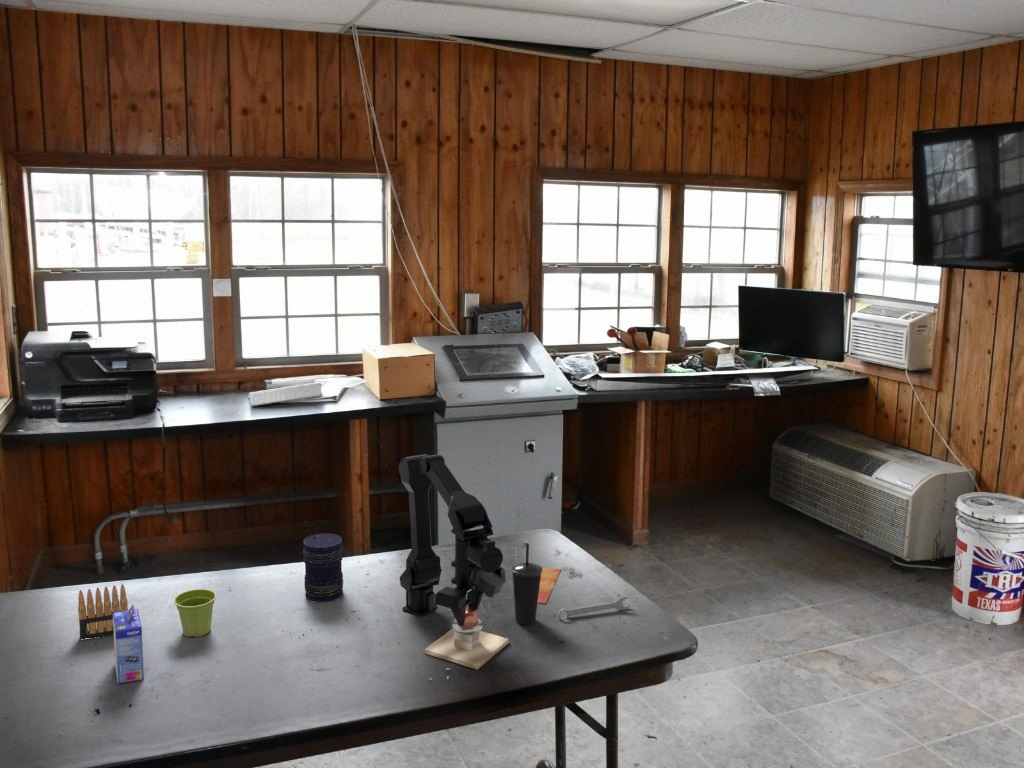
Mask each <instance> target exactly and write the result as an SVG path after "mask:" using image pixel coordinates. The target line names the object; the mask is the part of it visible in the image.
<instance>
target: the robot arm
mask: <svg viewBox="0 0 1024 768" xmlns="http://www.w3.org/2000/svg"><path fill="white" fill-rule="evenodd" d="M445 461H446V460H445V458H444V456H443V455H442V454H433V455H429V454H428V453H425V454H420V455H418V454H417V455H412V456H406V457H403V458H402V459H401V461H399V463H398V472H399V475H400V481H401V483H402V484H403V486H404V487H405V489H406V490H407V492H408V504H409V505H408V506H409V521H410V524H409V525H410V536H411V537H410V538H411V539H410V540H411V550H410V552H409V554H408V556H407V558H406V560H405V561H406V562H405V569H404V571H403V572H402V573H401V575H400V576H399V583H400V587H402V588H403V589H404V590H405V605H404V606H403V607H402V611H405V612H409V613H412V614H416V615H420V616H425V615H426V614H428V613H429V612H431V611H432V610H434V609H436V608H437V607H438V606H441V607H444V608H448V609H450V611H451V613H452V614H453V616H454V618H455V619H456V620H457V622H458V624H459V625H460V626H464V621H465V613H466V607H474V608H476V609H477V610H478V611H479V607H480V604H481V601H482V598H483V595H484V594H485V596H486V597H488V598H493V597H495V595H497V594H498V593H500V592H501V590H502V586H503V585H504V584H506V582H507V580H506V569H505V568H504V567H502V566H501V565H502V562H503V560H504V559H503V558H504V555H503V553H502V551H501V549H500V548H498V547H497V546H496V541H495V540H493V539H490V538H488V537H489V536H490V537H491V536H493V535H494V532H493V529H492V528H493V525H492V522H491V520H490V518H489V515H488V513H487V510H486V507H484V505H483V504H482V502H480V500H479V499H478V498H477V497H475V496H474V495H473V494H470V493H468V492H466V491H465V490H464V488H463V487H462V486H461V484H460V483H459V481H458V480H457V479H456V476H454V474H453V473H452V472H451V470H450V469H449V467H448V465H447V464H446V462H445ZM432 485H433V486H434V487H435V489H436V490H437V492H438V493H439V495H440V496H441V498H442V499H443V501H444V502H445V504H446V505H447V518H448V519H449V522H450V524H451V527H452V529H451V533H452V534H453V535H454V543H455V544H454V560H452V561H451V564H450V565H451V567H453V568H454V577H452V578H451V580H450V583H451V584H452V585H455V587H450V586H445V587H443V588H442V589H440V590H439V591H438V592H436V593H435V592H434V586H439V584H440V582H441V581H440V580H441V575H442V567H441V557H440V556H439V555H437V554H436V552H435V551H434V549H433V545H432V531H431V530H432V529H431V528H432V527H431V514H430V498H429V497H430V494H429V491H430V490H431V487H432ZM479 527H482V528H479ZM475 528H476V529H475ZM477 528H478V529H477Z"/></svg>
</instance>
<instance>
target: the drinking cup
mask: <svg viewBox="0 0 1024 768" xmlns="http://www.w3.org/2000/svg"><path fill="white" fill-rule="evenodd" d="M529 553H530V543H529V542H527V543H526V544H525V561H523V562H517V563H515V564H512V566H511V568H510V570H511V574H512V587H513V589H512V590H513V602H514V615H515V622H516V623H517V624H519V625H522V626H529V625H533V624H534V623H535V622H536V618H537V609H538V604H539V603H538V595H539V587H540V579H541V573H542V571H543V569H542V568H543V567H542V566H541V565H540V564H538V563H535V562H531V561H529V557H530V556H529V555H530V554H529Z"/></svg>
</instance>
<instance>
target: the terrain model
mask: <svg viewBox="0 0 1024 768" xmlns="http://www.w3.org/2000/svg"><path fill="white" fill-rule="evenodd" d="M542 569H543V571H542V573H541V579H540V587H539V595H538V603H537V604H547V602H548V599H549V597H550V595H551V592H552V591H553V588H554V587H555V584H556V581H557V579H558V577H559V575H560V573H561V570H562V569H561V568H560V569H559V568H547V567H542Z"/></svg>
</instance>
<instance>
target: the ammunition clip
mask: <svg viewBox="0 0 1024 768" xmlns="http://www.w3.org/2000/svg"><path fill="white" fill-rule="evenodd" d="M108 588H109V587H108V586H105V587H104V590H103V601H102V594H101V590H100V587H96V590H95V604H94V597H93V596H94V595H93V593H92V592H93V591H92V590H91V589H90V588H88V589H87V594H86V601H85V596H84V593H83V591H82V589H80V590H79V591H78V605H77V606H78V607H77V609H78V611H77V612H78V623H79V641H80V640H81V639H85V638H94V639H97V637H100V638H105V637H110V636H114V629H113V613H116V612H121V611H127V610H129V601H128V599H127V593H126V592H127V591H126V588H125V585H124V583H121V585H120V588H119V589H120V594H119V595H118V589H117V587H116V585H115V584H113V586H112V589H111V596H112V597H110V591H109V589H108ZM103 636H105V637H103ZM95 637H96V638H95ZM81 641H82V640H81Z"/></svg>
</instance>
